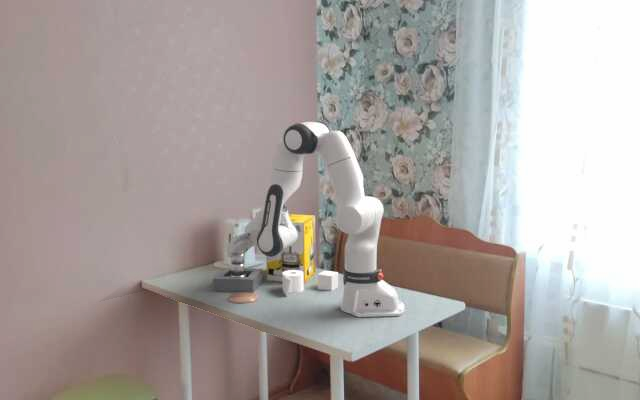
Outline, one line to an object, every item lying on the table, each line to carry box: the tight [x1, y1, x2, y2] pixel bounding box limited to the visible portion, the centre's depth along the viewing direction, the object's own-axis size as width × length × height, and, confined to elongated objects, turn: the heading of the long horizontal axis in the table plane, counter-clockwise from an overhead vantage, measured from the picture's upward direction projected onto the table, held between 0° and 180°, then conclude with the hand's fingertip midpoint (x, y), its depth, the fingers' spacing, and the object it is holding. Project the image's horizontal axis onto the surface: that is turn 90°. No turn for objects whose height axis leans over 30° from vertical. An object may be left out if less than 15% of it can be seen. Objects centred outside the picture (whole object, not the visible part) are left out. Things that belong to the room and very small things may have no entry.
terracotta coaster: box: [228, 292, 259, 304], centre depth 212 cm, size 11×11×1 cm
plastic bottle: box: [230, 235, 246, 277], centre depth 226 cm, size 6×7×20 cm
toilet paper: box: [281, 270, 305, 297], centre depth 220 cm, size 8×11×7 cm
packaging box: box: [265, 213, 317, 284], centre depth 238 cm, size 16×16×25 cm
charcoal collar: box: [212, 267, 263, 293], centre depth 227 cm, size 16×15×5 cm
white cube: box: [317, 270, 339, 292], centre depth 224 cm, size 6×6×6 cm
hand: (236, 253), depth 226 cm, fingers open, 8 cm apart
